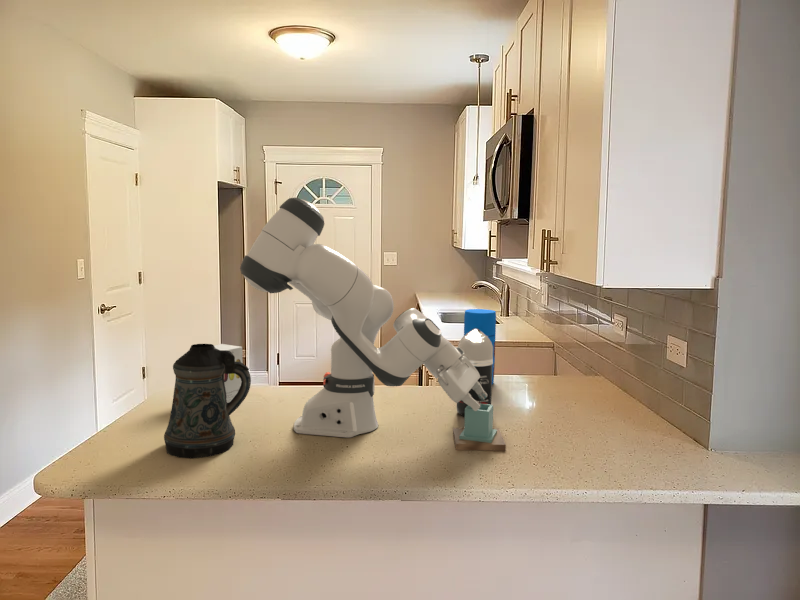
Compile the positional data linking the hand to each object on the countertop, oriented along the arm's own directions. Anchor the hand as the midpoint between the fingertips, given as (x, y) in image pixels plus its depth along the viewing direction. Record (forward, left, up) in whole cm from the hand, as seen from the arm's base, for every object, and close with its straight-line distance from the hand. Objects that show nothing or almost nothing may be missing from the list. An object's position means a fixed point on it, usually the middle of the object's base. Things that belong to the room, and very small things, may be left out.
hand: (482, 403), depth 153 cm
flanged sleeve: (-1, 0, -8) cm, 8 cm away
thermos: (+5, +59, -10) cm, 60 cm away
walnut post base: (-1, 0, -10) cm, 10 cm away
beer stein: (-68, -6, -10) cm, 69 cm away
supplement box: (-76, +31, -10) cm, 82 cm away
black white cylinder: (0, +23, -10) cm, 25 cm away
